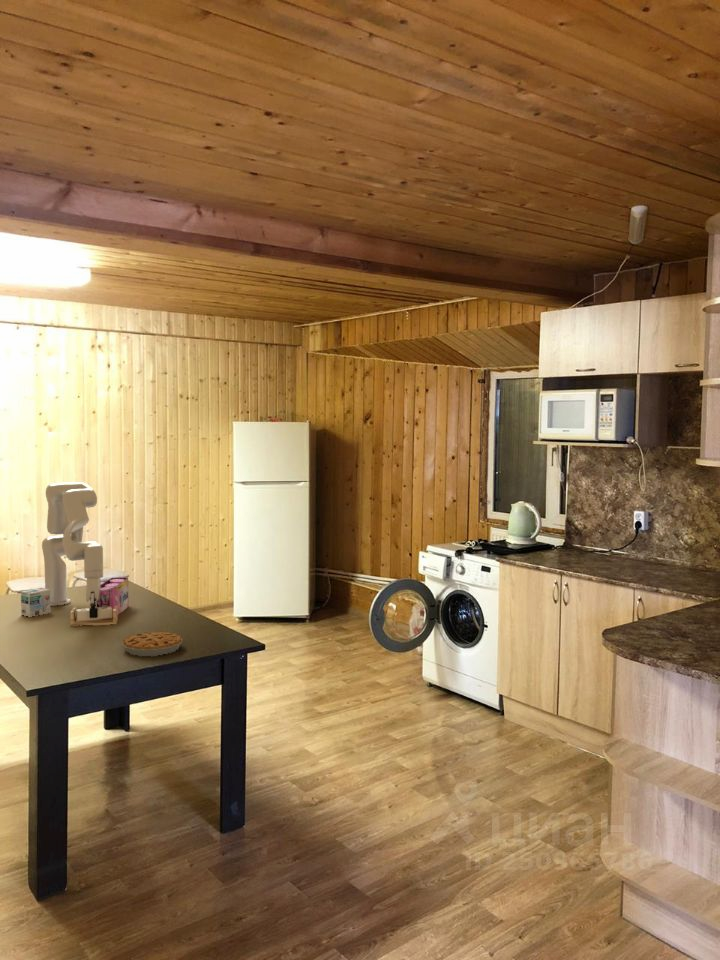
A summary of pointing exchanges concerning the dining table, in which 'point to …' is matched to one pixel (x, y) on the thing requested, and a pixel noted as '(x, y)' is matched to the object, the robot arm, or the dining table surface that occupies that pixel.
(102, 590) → the gum box
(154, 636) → the pie
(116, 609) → the cradle
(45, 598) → the light bulb box
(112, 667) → the dining table surface
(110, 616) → the power strip
